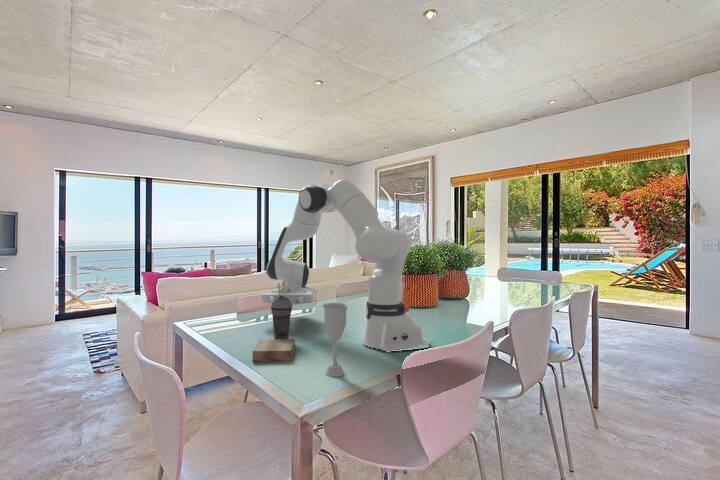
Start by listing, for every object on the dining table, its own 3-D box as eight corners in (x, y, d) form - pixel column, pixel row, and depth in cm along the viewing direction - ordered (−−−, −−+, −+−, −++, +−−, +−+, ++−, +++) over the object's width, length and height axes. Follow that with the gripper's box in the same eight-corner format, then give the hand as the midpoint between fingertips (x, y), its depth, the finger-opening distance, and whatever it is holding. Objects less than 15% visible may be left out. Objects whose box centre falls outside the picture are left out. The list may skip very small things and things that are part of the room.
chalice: (322, 367, 95) (322, 303, 95) (346, 367, 96) (347, 302, 95) (321, 378, 88) (322, 308, 88) (348, 378, 88) (348, 308, 88)
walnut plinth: (294, 348, 111) (295, 339, 111) (291, 360, 100) (291, 350, 100) (260, 349, 110) (260, 339, 110) (252, 361, 99) (252, 351, 99)
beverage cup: (286, 344, 115) (287, 285, 114) (266, 343, 116) (267, 284, 116) (295, 338, 122) (295, 282, 122) (276, 336, 123) (276, 281, 123)
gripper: (264, 286, 144) (257, 292, 130) (313, 287, 146) (312, 293, 132) (264, 301, 144) (257, 309, 130) (313, 302, 146) (311, 309, 132)
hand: (285, 301), depth 131 cm, fingers open, 8 cm apart
